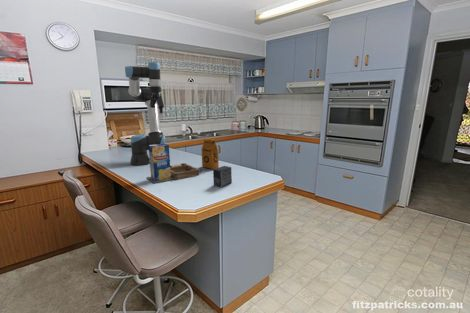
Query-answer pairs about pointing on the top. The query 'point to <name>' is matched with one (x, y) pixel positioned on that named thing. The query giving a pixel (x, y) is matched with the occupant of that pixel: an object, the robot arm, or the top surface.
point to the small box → (222, 176)
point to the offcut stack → (175, 165)
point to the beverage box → (159, 161)
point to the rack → (185, 167)
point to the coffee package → (210, 154)
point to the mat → (160, 180)
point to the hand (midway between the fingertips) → (157, 117)
